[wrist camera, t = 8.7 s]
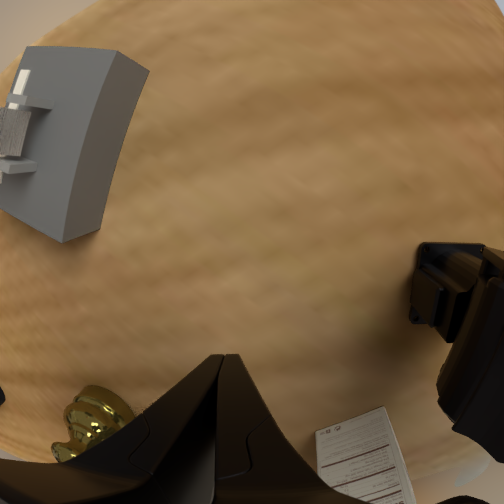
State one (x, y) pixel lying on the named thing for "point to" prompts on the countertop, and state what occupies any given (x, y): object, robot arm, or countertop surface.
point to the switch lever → (13, 130)
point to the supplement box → (364, 460)
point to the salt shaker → (91, 421)
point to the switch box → (68, 136)
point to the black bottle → (1, 396)
